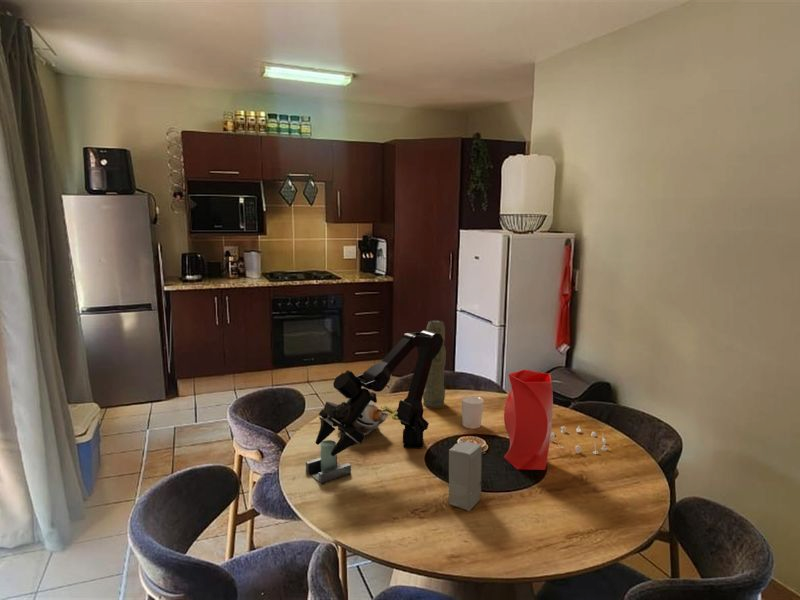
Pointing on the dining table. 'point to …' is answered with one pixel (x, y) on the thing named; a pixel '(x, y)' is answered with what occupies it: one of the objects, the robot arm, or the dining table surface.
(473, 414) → the white cup
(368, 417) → the lucky cat figurine
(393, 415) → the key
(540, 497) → the dining table surface
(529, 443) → the vase
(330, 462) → the teal peg
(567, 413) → the dining table surface
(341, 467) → the rail dock
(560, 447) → the game piece set
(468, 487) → the skincare box
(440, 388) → the grey green tall pillar
